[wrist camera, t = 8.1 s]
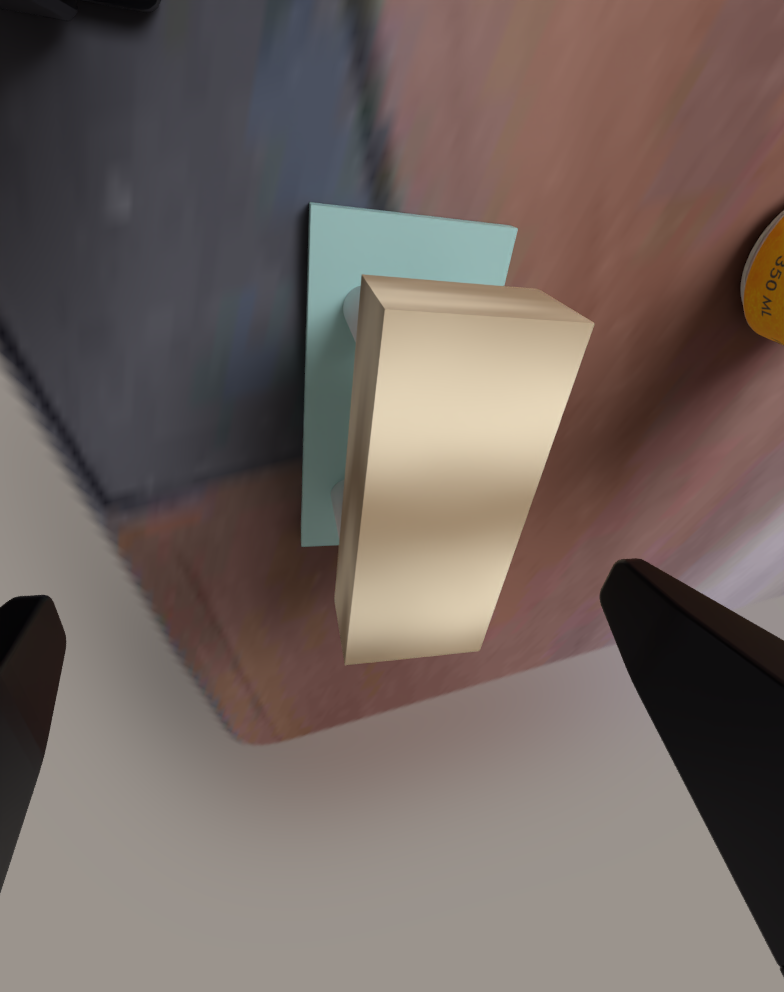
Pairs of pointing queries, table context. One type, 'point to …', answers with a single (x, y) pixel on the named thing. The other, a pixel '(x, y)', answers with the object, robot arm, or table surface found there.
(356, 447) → the board
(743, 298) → the beer can
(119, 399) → the table surface
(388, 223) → the peg stand
